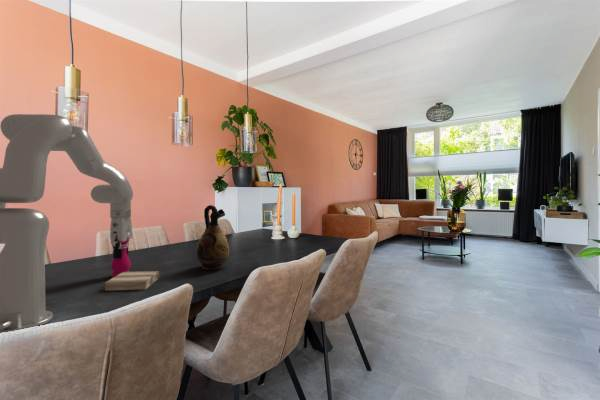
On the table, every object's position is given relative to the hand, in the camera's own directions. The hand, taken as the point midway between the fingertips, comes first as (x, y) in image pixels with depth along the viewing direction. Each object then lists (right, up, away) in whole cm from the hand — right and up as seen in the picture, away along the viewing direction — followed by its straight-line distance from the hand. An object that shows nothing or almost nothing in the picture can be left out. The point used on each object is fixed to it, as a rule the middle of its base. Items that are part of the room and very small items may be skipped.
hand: (121, 256), depth 124 cm
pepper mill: (0, -9, 0) cm, 9 cm away
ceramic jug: (+34, -9, +16) cm, 39 cm away
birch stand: (+11, -9, -10) cm, 18 cm away
